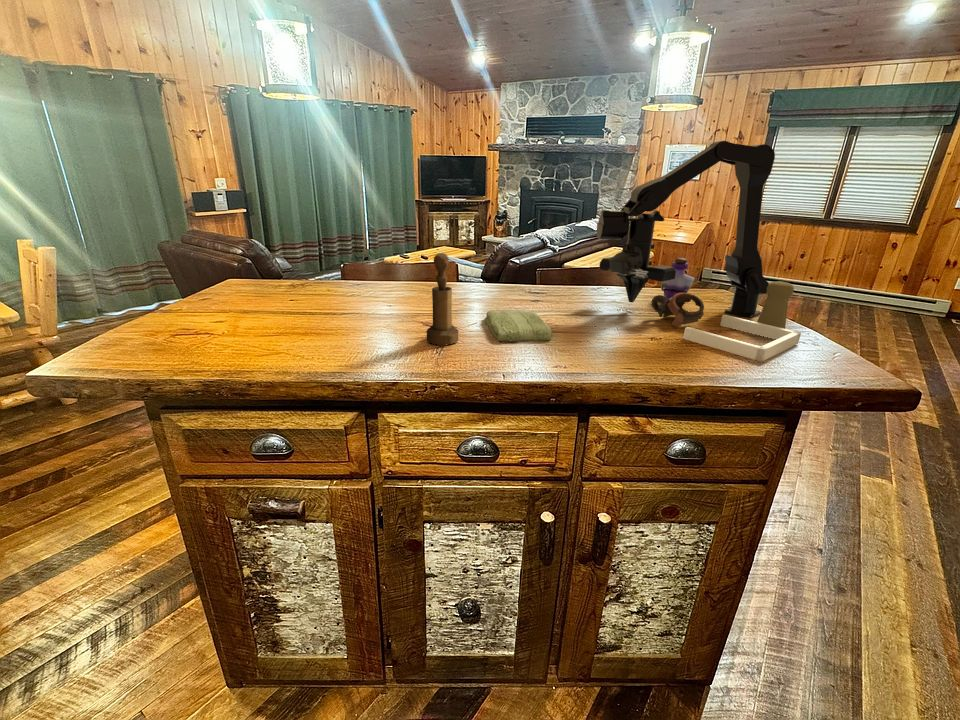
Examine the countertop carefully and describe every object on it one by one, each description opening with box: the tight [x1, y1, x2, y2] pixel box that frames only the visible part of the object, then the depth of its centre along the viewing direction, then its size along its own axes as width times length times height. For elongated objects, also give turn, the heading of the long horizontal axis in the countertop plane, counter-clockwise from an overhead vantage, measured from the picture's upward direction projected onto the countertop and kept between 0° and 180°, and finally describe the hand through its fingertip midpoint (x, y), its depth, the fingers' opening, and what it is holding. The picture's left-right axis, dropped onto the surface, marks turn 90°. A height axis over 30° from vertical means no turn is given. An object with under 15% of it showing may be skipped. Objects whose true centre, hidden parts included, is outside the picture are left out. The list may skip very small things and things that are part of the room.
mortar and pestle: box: [426, 252, 459, 346], centre depth 95 cm, size 7×6×18 cm
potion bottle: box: [660, 257, 695, 298], centre depth 129 cm, size 9×9×12 cm
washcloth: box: [484, 310, 554, 342], centre depth 106 cm, size 13×18×3 cm
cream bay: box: [683, 314, 802, 363], centre depth 100 cm, size 17×16×2 cm
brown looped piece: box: [651, 292, 705, 328], centre depth 112 cm, size 12×10×8 cm
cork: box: [756, 280, 795, 329], centre depth 107 cm, size 6×6×11 cm
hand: (631, 301), depth 120 cm, fingers closed
